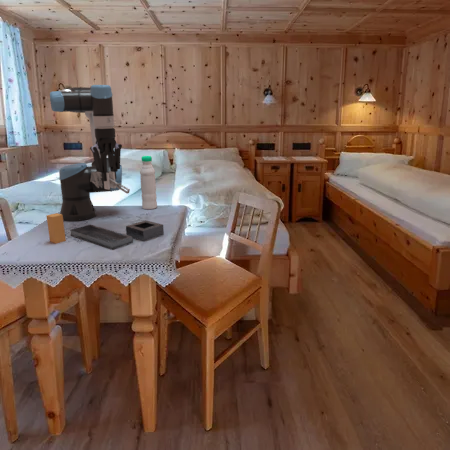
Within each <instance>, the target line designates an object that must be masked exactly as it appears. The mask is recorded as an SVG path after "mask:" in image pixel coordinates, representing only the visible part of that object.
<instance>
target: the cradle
mask: <svg viewBox="0 0 450 450" xmlns="http://www.w3.org/2000/svg"><path fill="white" fill-rule="evenodd" d="M69 232H70V236H71V237H75V238H77V239H80V240H81V241H82V240H83V241H85V242H89V243H91V244H95V245H98V246H101V247H103V248H107V249H110V250H111V251H112V250H115V249H119V248H122V247H124V246H128V245H130V244H133V243H134V241H133V240H134V238H133V237H131V236H128V235H126V234H124V233H121V232H117V231H114V230H110V229H107V228H103V227H100V226H97V225H94V224H88V225H87V224H86V225H84V226H79V227H76V228H72V229H70V231H69Z"/></svg>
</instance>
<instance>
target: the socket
mask: <svg viewBox="0 0 450 450" xmlns="http://www.w3.org/2000/svg"><path fill="white" fill-rule="evenodd" d="M125 232H126V234H125V235H128V236H131V237H133V240H134V239H135V240H139V241H142V242H145V241H146V242H147V241H149V240H151V239H155V238H157V237H161V236H163V235H164V234H165V231H164V224H162V223H158V222H154V221H150V220H142V221H139V222H136V223H135V222H134V223H132V224H129V225H125Z"/></svg>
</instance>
